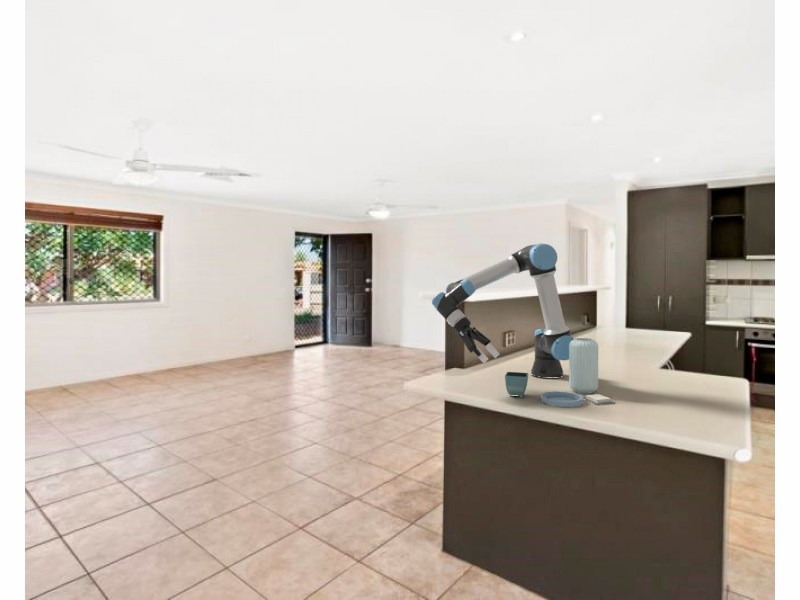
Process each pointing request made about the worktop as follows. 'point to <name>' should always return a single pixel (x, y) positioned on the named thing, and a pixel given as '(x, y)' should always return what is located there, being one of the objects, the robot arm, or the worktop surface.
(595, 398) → the mat with cloth
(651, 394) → the worktop surface
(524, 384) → the flower pot
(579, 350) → the vase
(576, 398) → the dish
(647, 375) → the worktop surface
